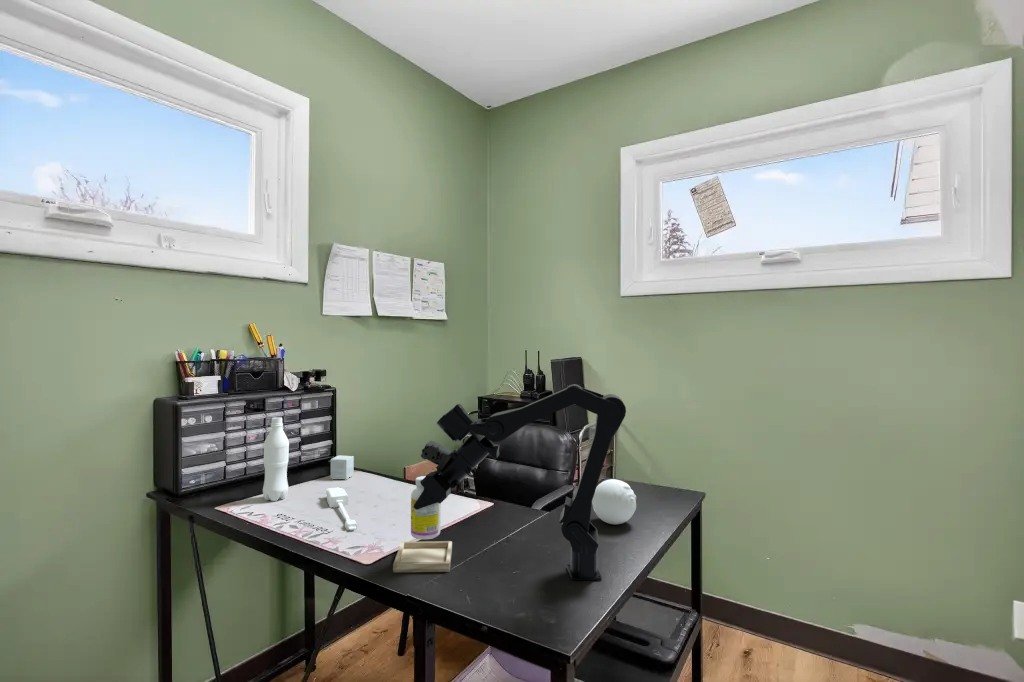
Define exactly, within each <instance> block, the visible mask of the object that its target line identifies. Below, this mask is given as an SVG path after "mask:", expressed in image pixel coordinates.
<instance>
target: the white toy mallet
mask: <svg viewBox="0 0 1024 682" xmlns="http://www.w3.org/2000/svg"><path fill="white" fill-rule="evenodd" d="M325 490H326V491H325V493H326V494H325V495H326V501H327V503H328V506H329V508H331V509H333V508H340V511H341V513H342V516H343V517H344V519H345V521H344V527H345V529H346V531H354V530H355V531H356V530H357V528H358V524H357V522H356V520H355V519H351V518H350V516H349V514H348V511H347V510H346V508H345V506H344V505H347V506H348V505H349V496H348V494H347V492H346V490H345V489H344V488H341V487H329V488H325ZM338 506H339V507H338ZM332 507H333V508H332Z"/></svg>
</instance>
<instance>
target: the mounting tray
mask: <svg viewBox="0 0 1024 682" xmlns="http://www.w3.org/2000/svg"><path fill="white" fill-rule="evenodd" d="M452 550H453V541H451V540H444V541H443V540H441V541H438V540H437V541H428V540H427V541H401V542H400V545H399V548H398V549H397V553H396V555H395V559H394V561H393V563H392V572H393V573H442V572H443V573H444V572H446V573H447V572H449V573H450V570H451V562H452V561H451V560H452V554H453V551H452Z"/></svg>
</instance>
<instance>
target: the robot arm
mask: <svg viewBox="0 0 1024 682" xmlns="http://www.w3.org/2000/svg"><path fill="white" fill-rule="evenodd" d="M572 405H576V406H578V407H580V408H582V409H584V410H586V411H588V412H591V413H593V414H595V426H594V435H593V436H592V440H591V443H590V446H589V450H588V453H587V456H586V460H585V463H584V466H583V469H582V472H581V475H580V478H579V482H578V484H577V488H576V491H575V493H574V494H573V496H572V498H570V497H569V496H565V500H564V502H565V503H564V507H563V508H562V510H561V512H560V517H559V524H561V533H562V535H563V537H564V538H565V539H566V540H567V541H569V544H570V564H566V570H567V572H568V574H569V577H570V579H571V581H600V580H602V579H603V577H602V574H601V572H600V571H599V568H598V550H599V549H598V548H599V533H598V529H597V527H596V526H595V525H593V523H592V522H591V514H592V507H593V505H592V500H593V497H594V493H595V490H596V487H597V486H598V485H599V484H598V483H599V480H600V477H601V475H602V471H603V468H604V464H605V462H606V461H605V460H606V458H607V455H608V452H609V448H610V445H611V442H612V440H613V439H614V437H615V436H616V433H617V432H618V431H619V429H620V427H621V426H622V423H623V421H624V419H625V417H626V413H627V408H626V405H625V404H624V401H623V400H622V399H621V398H620V397H619V396H618V395H616V394H612V393H611V394H610V393H609V394H601V393H599V392H597V391H593V390H590V389H587V388H584V387H581V386H580V385H579V384H576V383H575V384H570V385H568V386H567V387H566V388H564V389H561V390H559V391H557V392H555V393H552V394H550V395H548V396H545V397H543V398H541V399H538V400H536V401H534V402H531V403H529V404H527V405H524V406H522V407H517V408H513V409H512V408H511V409H507V410H502V411H500V412H499V411H498V412H495V413H493V414H492V415H491V416H489V417H486V418H478V419H476V420H475V419H474V418H473V417H472V416H471V415H470V413H468V412H467V411H466V409H465V408H464V406H463V405H462V404H461V403H457V404H456V405H454V407H453V408H451V409H450V410H449V411H447V412H446V413H445V414H443V415H442V417H440V418H439V420H438V421H436V425H437V426H438V428H440V429H441V431H443V433H445V435H446V436H447V437H448V438H449V439H450V440H451V441H452V442H457V441H458V442H462V441H463V440H464V439H465V438H466V437H467V436H468V435H469V434H471V435H470V436H469V437H467V439H466V440H465V441H464V442H462V444H460V446H458V448H457V447H456V448H455V449H454V450H453V451H452V450H450V449H448V448H447V447H446V446H444V445H442V444H440V443H438V442H436V441H435V440H434V441H433V440H430V441H429V442H426V443H425V444H424V448H422V449H421V454H420V458H422V459H423V460H427V461H429V462H430V463H433V464H434V465H437V466H436V467H435V469H436V471H431V472H429V473H428V474H426V477H425V478H424V479H423V480H422V481H421V485H422V486H423V487H424V490H423V492H422V493H421V495H420V496H419V498H418V500H417V501H416V503H415V504H414V506H413V507H414V508H415V509H416V510H418V509H420V508H423V507H426V506H429V505H432V504H435V503H440V504H441V503H443V501H445V500H446V499H447V498H448V497H449V496H450V495H451V493H452V492H451V491H452V489H455V488H456V487H457V486H458V485H459V484H460V483H461V482H463V480H464V479H465V478H466V477H467V475H469V474H470V473H472V471H473V470H474V469H475V468H476V467H477V466H478V465H480V463H481V462H482V461H483V460H484V459H485V458H486V457H487V456H488V455H490V456H491V457H492V458H493V459H494V460H496V459H497V458H498V457H499V456H500V446H501V445H500V444H499V443H500V442H502V441H504V440H506V439H507V438H509V437H510V436H512V435H513V434H515V433H516V432H517V431H519V430H520V429H522V428H523V427H525V426H526V425H528V424H530V423H532V422H535V421H538V420H540V419H542V418H545V417H546V416H549V415H552V414H555V413H556V412H558V411H561V410H563V409H566V408H569V407H570V406H572ZM496 443H498V444H496ZM441 505H442V504H441Z"/></svg>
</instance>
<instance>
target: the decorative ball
mask: <svg viewBox="0 0 1024 682" xmlns="http://www.w3.org/2000/svg"><path fill="white" fill-rule="evenodd" d="M636 501H637V495H636V494H635V493H634V490H633V489H632V488H631V486H630V485H629V484H628V483H627V482H625V481H624V480H620V479H615V478H614V479H613V478H611V479H606V480H603V481H602V482H600V483H599V484H597V487H596V490H595V493H594V497H593V500H592V508H593V511H594V512H595V514H596V516H597V517H598V518H599V520H601V521H603V522H605V523H607V524H609V525H621V524H625V523H626V522H627V521H629V520H630V519H631V518H632V517H633V516H634V513H635V512H636V509H637V502H636Z"/></svg>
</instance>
